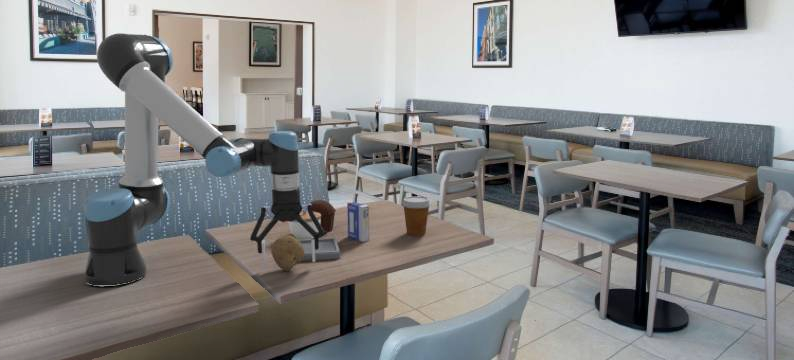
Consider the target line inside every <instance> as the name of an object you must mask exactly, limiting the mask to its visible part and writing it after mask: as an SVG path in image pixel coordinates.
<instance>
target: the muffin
mask: <svg viewBox="0 0 794 360" xmlns="http://www.w3.org/2000/svg"><path fill="white" fill-rule="evenodd" d="M309 203H311V205H312V211H313V212H318V213H320V214H321V224H320V225H321V226H322V228H323V230H324V232H325V233H327V232H331V231H332V230H334V224H335V223H334V222H335V213H336V212H337V210H336V208H335V207H334V206H333V205H332V204H331V203H330V202H328V201H326V200H322V199H317V200H313V201H310V202H309Z"/></svg>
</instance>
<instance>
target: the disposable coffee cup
mask: <svg viewBox="0 0 794 360" xmlns="http://www.w3.org/2000/svg"><path fill="white" fill-rule="evenodd" d="M401 204H402V206H403V212H404V220H405V228H406V234H407V235H408V236H412V237H419V236H424V235H426V230H427V223H428V216H429V208H430V205H431V202H430V199H429V198H428V197H426V196H419V195H417V196H416V195H414V196H407V197H404V198H403V201H402V202H401Z"/></svg>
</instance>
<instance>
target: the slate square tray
mask: <svg viewBox="0 0 794 360" xmlns="http://www.w3.org/2000/svg"><path fill="white" fill-rule="evenodd" d="M299 241H300V243H301V244H302V246H303V248H304V252H305V255H304V258H303V260H302V261H301V262H303V261H306V262H307V261H312V243H311V239H306V240H299ZM335 259H341V253H340V248H339V245H338V241H337V239H336V237H327V238H324V237H323V238H319V248H318V249H316V250H315V261H320V260H322V261H323V260H335Z"/></svg>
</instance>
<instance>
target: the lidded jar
mask: <svg viewBox="0 0 794 360" xmlns="http://www.w3.org/2000/svg"><path fill="white" fill-rule="evenodd" d="M314 214H315V216H316V218H317V219H318V221H319V223H320V224H321V214H320V213H318V212H314ZM300 215H301V216H302V218H303V219H304V220H305V221H306V222H307V223H308V224H309V225H310V226H311V227H312V228H313V229H314V230H315V231H316V232H319V231H318V230H317V228H316V226H315V224H314V223H313V221H312V219H311V217H310V216H309V213H308V212H305V210H303V209H302V211H301V212H300ZM288 227H289V230H290V232H291V234H292V236H293V237H295V238H296V239H298V240H306V239H311V237H313V236H312V235H311V234H310V233H309V232H308V231H307V230H306V229H305V228H304V227H303V226H302V225H301V224H300V223H299V222H298V221H297V220H294V221H293V222H290V221H288Z"/></svg>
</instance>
